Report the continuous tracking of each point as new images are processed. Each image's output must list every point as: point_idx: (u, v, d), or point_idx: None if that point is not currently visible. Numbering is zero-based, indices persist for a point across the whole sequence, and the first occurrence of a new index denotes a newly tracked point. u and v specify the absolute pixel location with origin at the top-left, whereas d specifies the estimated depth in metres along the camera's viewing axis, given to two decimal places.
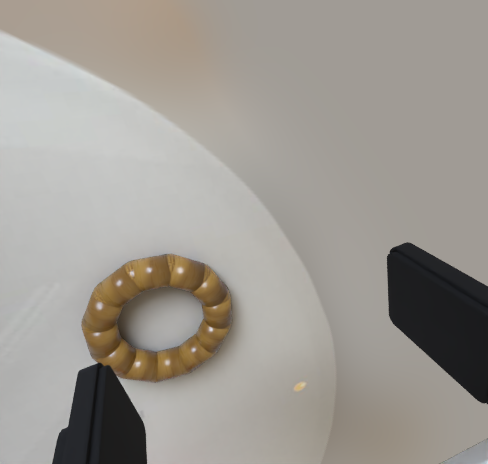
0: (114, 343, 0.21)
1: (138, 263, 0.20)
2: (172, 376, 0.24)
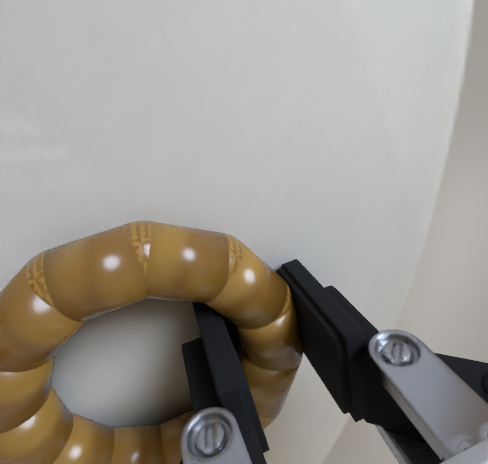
0: (49, 353, 0.08)
1: (250, 254, 0.09)
2: None
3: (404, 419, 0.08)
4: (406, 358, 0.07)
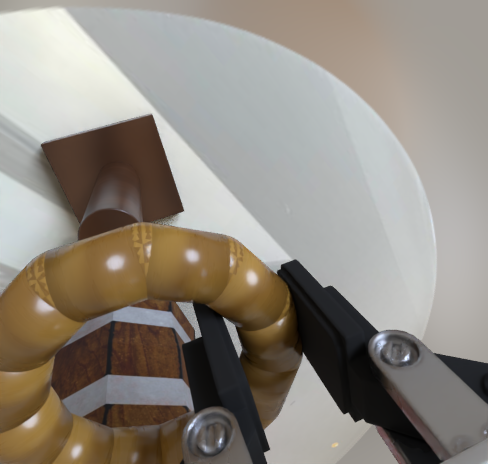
0: (49, 354, 0.08)
1: (251, 256, 0.09)
2: None
3: (402, 419, 0.08)
4: (405, 358, 0.07)
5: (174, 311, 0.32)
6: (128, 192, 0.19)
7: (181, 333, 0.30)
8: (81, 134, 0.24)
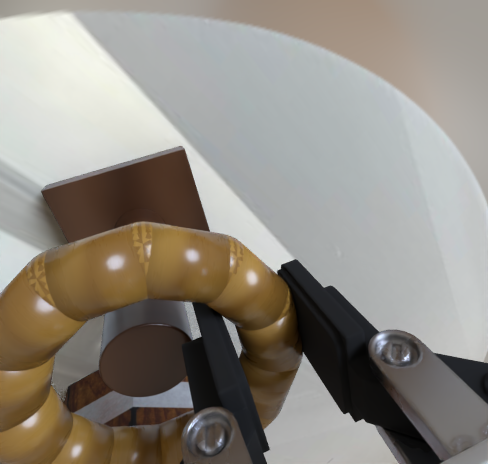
0: (49, 353, 0.08)
1: (251, 255, 0.09)
2: None
3: (403, 419, 0.08)
4: (406, 358, 0.07)
5: None
6: None
7: None
8: (94, 176, 0.18)
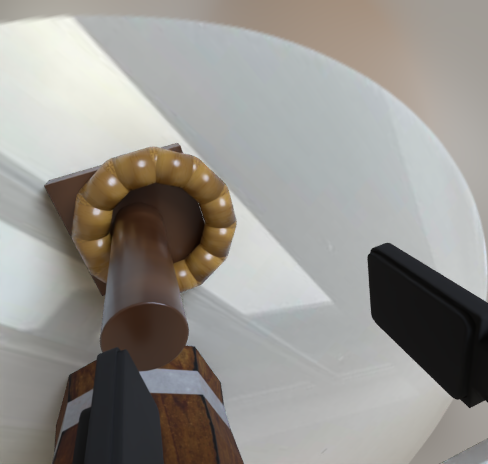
0: (113, 204, 0.19)
1: (204, 165, 0.20)
2: None
3: None
4: None
5: (200, 368, 0.27)
6: (161, 260, 0.15)
7: (210, 397, 0.25)
8: (94, 172, 0.19)
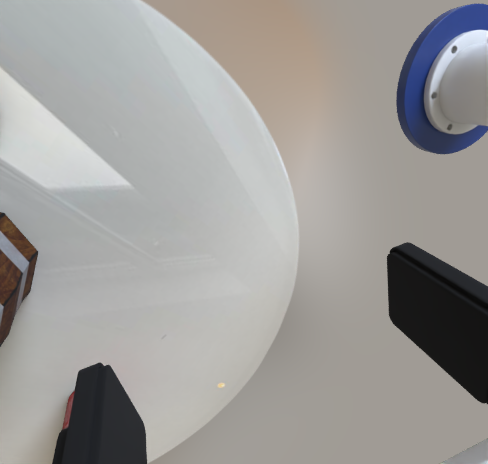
0: None
1: None
2: None
3: None
4: None
5: (3, 226, 0.34)
6: None
7: (1, 242, 0.32)
8: None
